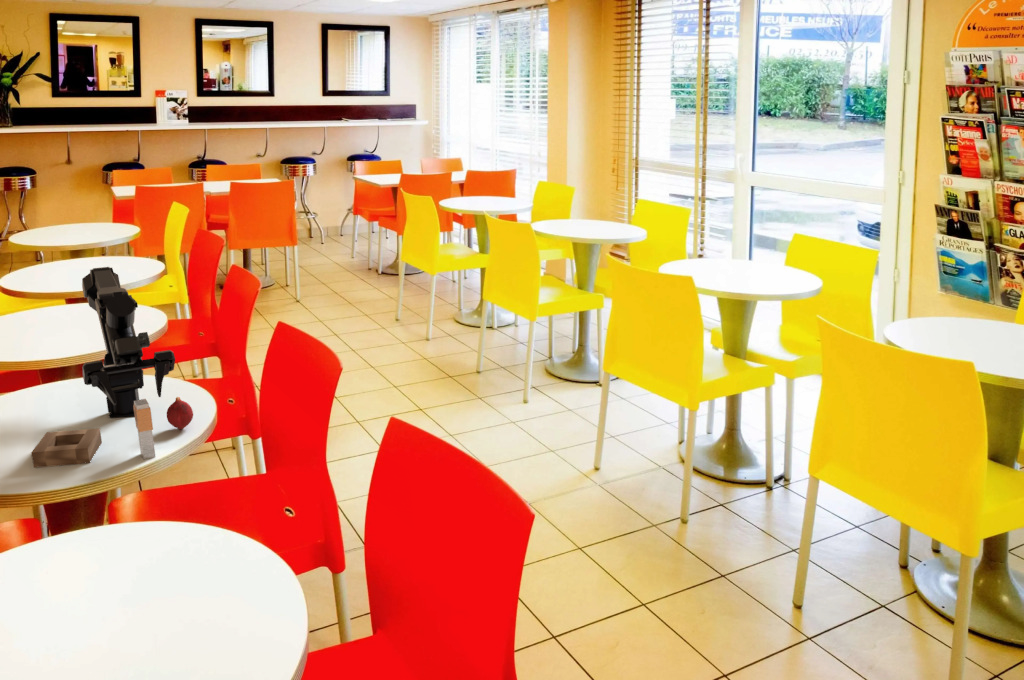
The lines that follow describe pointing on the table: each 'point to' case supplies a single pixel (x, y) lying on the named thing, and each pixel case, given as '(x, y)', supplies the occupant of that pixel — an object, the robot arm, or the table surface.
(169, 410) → the onion
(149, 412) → the banded grey brick
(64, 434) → the block
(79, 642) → the table surface
